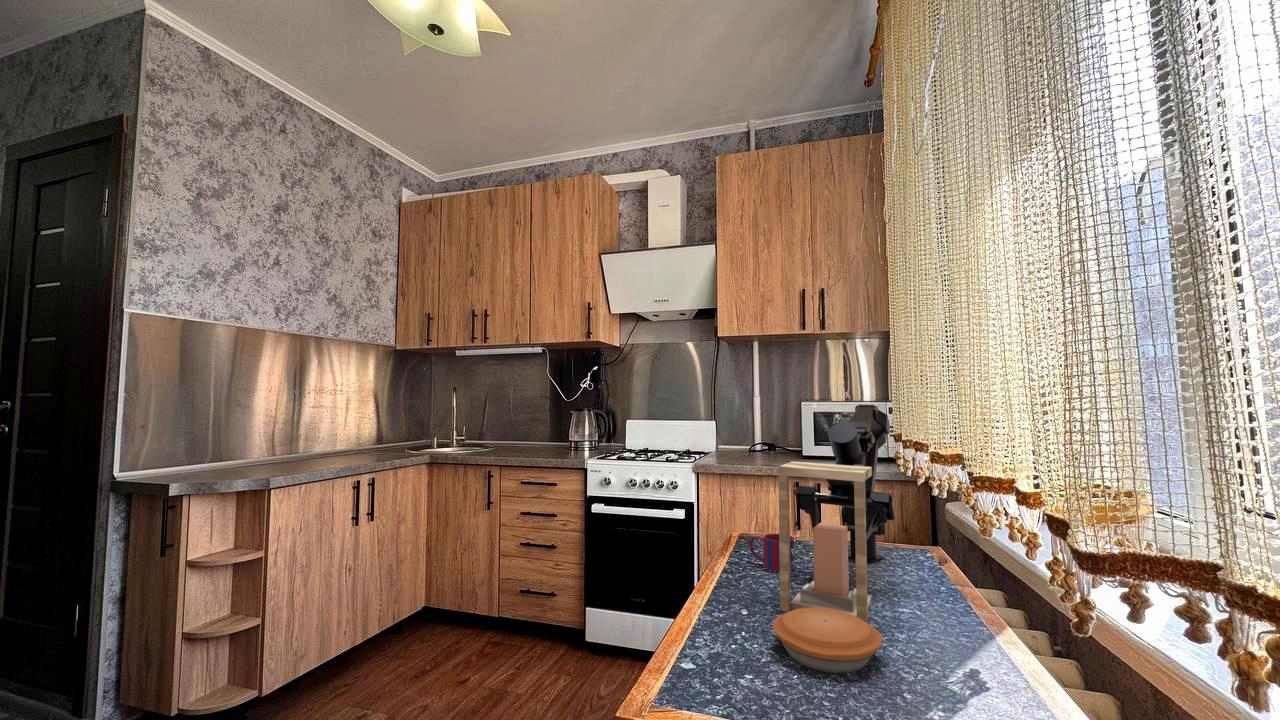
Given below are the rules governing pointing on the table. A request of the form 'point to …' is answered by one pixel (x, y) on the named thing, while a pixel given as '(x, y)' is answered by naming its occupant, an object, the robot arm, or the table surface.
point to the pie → (827, 639)
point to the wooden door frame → (859, 597)
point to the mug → (773, 552)
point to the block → (831, 559)
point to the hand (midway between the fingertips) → (838, 538)
